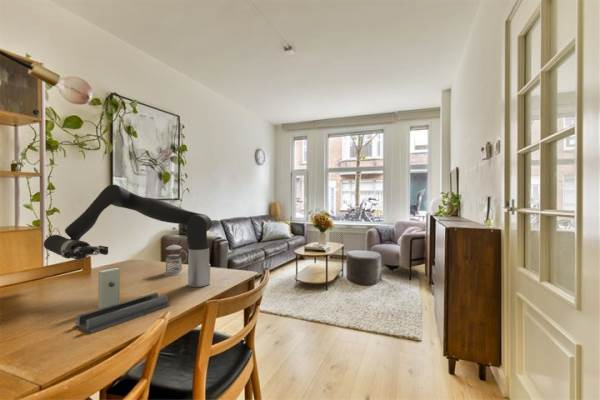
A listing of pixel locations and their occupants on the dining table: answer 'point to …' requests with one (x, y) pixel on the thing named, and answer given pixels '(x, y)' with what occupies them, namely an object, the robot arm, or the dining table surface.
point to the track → (120, 312)
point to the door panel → (108, 287)
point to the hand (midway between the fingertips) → (94, 253)
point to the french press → (172, 258)
